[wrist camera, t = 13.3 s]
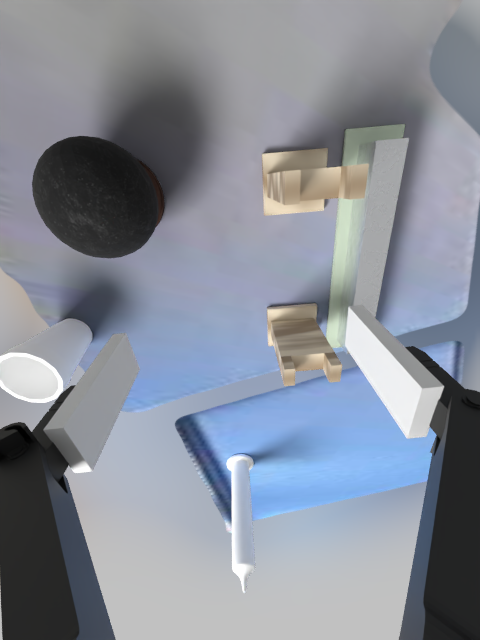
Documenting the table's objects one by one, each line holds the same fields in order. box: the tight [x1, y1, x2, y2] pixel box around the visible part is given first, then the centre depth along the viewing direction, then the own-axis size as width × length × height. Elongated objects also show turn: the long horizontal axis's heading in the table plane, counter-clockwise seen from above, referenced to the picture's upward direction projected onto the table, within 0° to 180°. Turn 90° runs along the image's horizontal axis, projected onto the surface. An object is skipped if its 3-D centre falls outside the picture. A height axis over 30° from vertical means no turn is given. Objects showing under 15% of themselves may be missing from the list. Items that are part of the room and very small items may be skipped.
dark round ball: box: [32, 136, 164, 258], centre depth 32 cm, size 13×13×15 cm
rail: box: [337, 138, 409, 354], centre depth 42 cm, size 32×4×5 cm, turn 4°
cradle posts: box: [262, 148, 369, 386], centre depth 38 cm, size 32×9×15 cm, turn 4°
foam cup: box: [0, 319, 93, 402], centre depth 44 cm, size 10×9×13 cm
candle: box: [227, 454, 255, 593], centre depth 59 cm, size 7×7×25 cm
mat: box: [326, 124, 405, 348], centre depth 44 cm, size 36×8×1 cm, turn 4°
